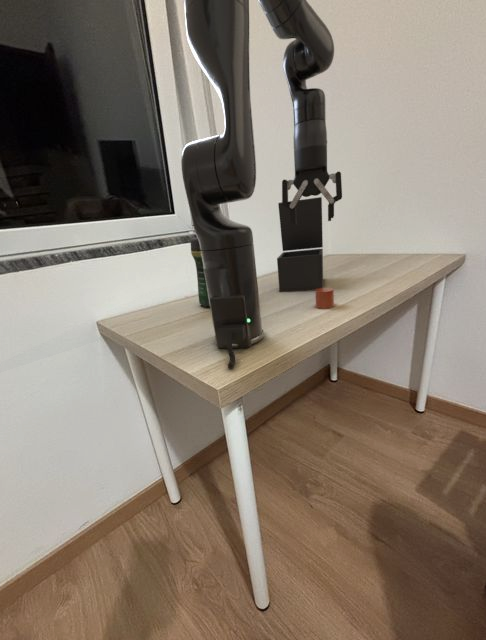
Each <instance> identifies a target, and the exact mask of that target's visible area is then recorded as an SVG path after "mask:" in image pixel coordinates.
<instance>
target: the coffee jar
mask: <svg viewBox="0 0 486 640" xmlns="http://www.w3.org/2000/svg"><path fill="white" fill-rule="evenodd" d="M190 254H191V256H192V258H193V260H194V263H195V269H196V279H197V294H198V302H199V304H200V305H201V306H202V307H205V308H206V307H210V303H209V297H208V291H207V285H206V279H205V273H204V267H203V261H202V255H201V249H200V244H199V240H198V238H197V236H196V237H192V238H191V239H190Z"/></svg>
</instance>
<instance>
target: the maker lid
mask: <svg viewBox="0 0 486 640" xmlns="http://www.w3.org/2000/svg"><path fill="white" fill-rule="evenodd" d="M288 202H290V203H291V202H292V200H288ZM277 207H278V214H279V225H280V227H279V228H280V237H281V248H282V252H291V251H301V250H312V249H322V248H324V247H323V246H324V243H323V241H324V240H323V197H322V196H319V197H312V198H311V197H310V198H304V199H300V200H299V201H298V203H297V205H296V206H295V209H296V218H297V224H296V225H293V222H292V223H291V221H290V209H289V208H287V207H284V206H283V205H282V201H281V202H278V206H277Z"/></svg>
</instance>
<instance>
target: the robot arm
mask: <svg viewBox="0 0 486 640" xmlns="http://www.w3.org/2000/svg"><path fill="white" fill-rule="evenodd" d="M183 1H184V17H185V18H184V19H185V21H184V22H185V28H186V30H185V31H186V37H187V42H188V44H189V47H190V49H191V52H192V54H193V56H194V58H195V60H196V61H197V63H198V65H199V66H200V68H201V70H202V71H203V72H204V74H205V75H206V77H207V78H208V80H209V81H210V84H212V86H213V88H214V90H215V91H216V93H217V96H218V97H219V100H220V102H221V105H222V111H223V116H224V130H223V133H222V134H221V133H220V134H217V135H214V136H209V137H205V138H201V139H196V140H193V141H191V142H188V143H187V144H185V146H184V147H183V150H182V152H181V153H182V154H181V175H182V181H183V185H184V189H185V190H184V191H185V195H186V199H187V204H188V207H189V212H190V217H191V222H192V227H193V230H194V233H195V235H196V237H197V238H198V240H199V244H200V249H201V255H202V261H203V267H204V273H205V279H206V285H207V291H208V297H209V303H210V306H209V309H210V313H211V314H210V315H211V321H212V326H213V331H214V341H215V344H216V347H217V348H218V349H227V353H228V356H229V362H228V363H227V368H228V369H233V367H234V366H235V364H236V356H235V353H234V350H233V349H238V348H240V349H241V348H244V349H245V348H246V349H247V348H250V347H251V346H252V345H255V344H257V343H259V342H260V341H262V340H263V339H264V329H263V325H262V314H261V305H260V295H259V286H258V275H257V267H256V266H257V265H256V254H255V246H254V235H253V230H252V228H251V226H249V225H246V224H243V223H239V222H236V221H234V220H231V218H228V217H226V216H225V215H224V213H223V211H222V207H221V205H222V204H230V203H236V202H241V201H245V200H249V199H250V198H251V197H253V195H254V192H255V189H256V184H257V183H256V182H257V159H256V146H255V145H256V144H255V135H254V124H253V123H254V122H253V113H252V112H253V111H252V100H251V75H250V73H251V72H250V0H183ZM257 2H258V3H259V6H260V7H261V9H262V11H263V14H264V15H265V17H266V19H267V21H268V23H269V25H270V27H271V29H272V31H273V33H274V34H275V36H276V37H277V39H278V40H284V41H285V40H291V39H294V40H292V41H290V43H288V44H287V46H286V47H285V50H284V53H283V57H282V58H283V59H282V67H283V72H284V76H285V80H286V83H287V86H288V90H289V95H290V98H291V103H292V108H293V109H292V111H293V158H294V159H293V161H294V178H293V179H282V181H281V202H282V205H283V206H284V207H287V208H289V209H290V221H291V223H292V222H293V225H296V224H297V218H296V209H295V206H296V205H297V203H298V201H299V200H301V199H302V197H305V198H308V197H312V196H313V197H314V196H319V195H322V196H323V197H324V198H325V199H326V201H327V202H328V204H327V222H331V221H332V219H334V217H335V203H337V202H338V201H340V200H342V198H343V185H342V172H341V171H337V172H334V173H329V172H328V131H327V123H326V118H327V117H326V116H327V115H326V113H327V112H326V94H325V92H324V90H323V89H321V88H318V87H311V88H308V86H307V80H309V79H312V78H314V77H316V76H318V75H321V74H323V73H325V72H326V71H327V70H329V69H330V67H331V65H332V64H333V61H334V57H335V43H334V39H333V35H332V33H331V31H330V29H329V28H328V26H327V25H326V24H325V23H324V20H322V19H321V17H320V16H319V15H318V14H317V12H316V11H315V9H314V8H313V7H312V6H311V4H310V3H309V2H308V1H307V0H257ZM329 180H331V182H332V183H333V184H335V195H334V196H332V195H331V193H330V192H329V190H328V189H327V188H326V186H327V184H328V182H329ZM292 186H294V187H295V188H296V190H297V191H296V193H295V195H294V196H293V198H292V200H291V201H292V202H291V203H290V202H289V190H291V189H292Z"/></svg>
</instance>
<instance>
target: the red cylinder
mask: <svg viewBox="0 0 486 640" xmlns="http://www.w3.org/2000/svg"><path fill="white" fill-rule="evenodd" d="M314 293H315V294H314V295H315V296H314V297H315V308H317V309H323V310H326V309H331V308H333V307H334V306H335V289H334V288H332V287H323V288H319V289H316V290H314Z"/></svg>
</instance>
